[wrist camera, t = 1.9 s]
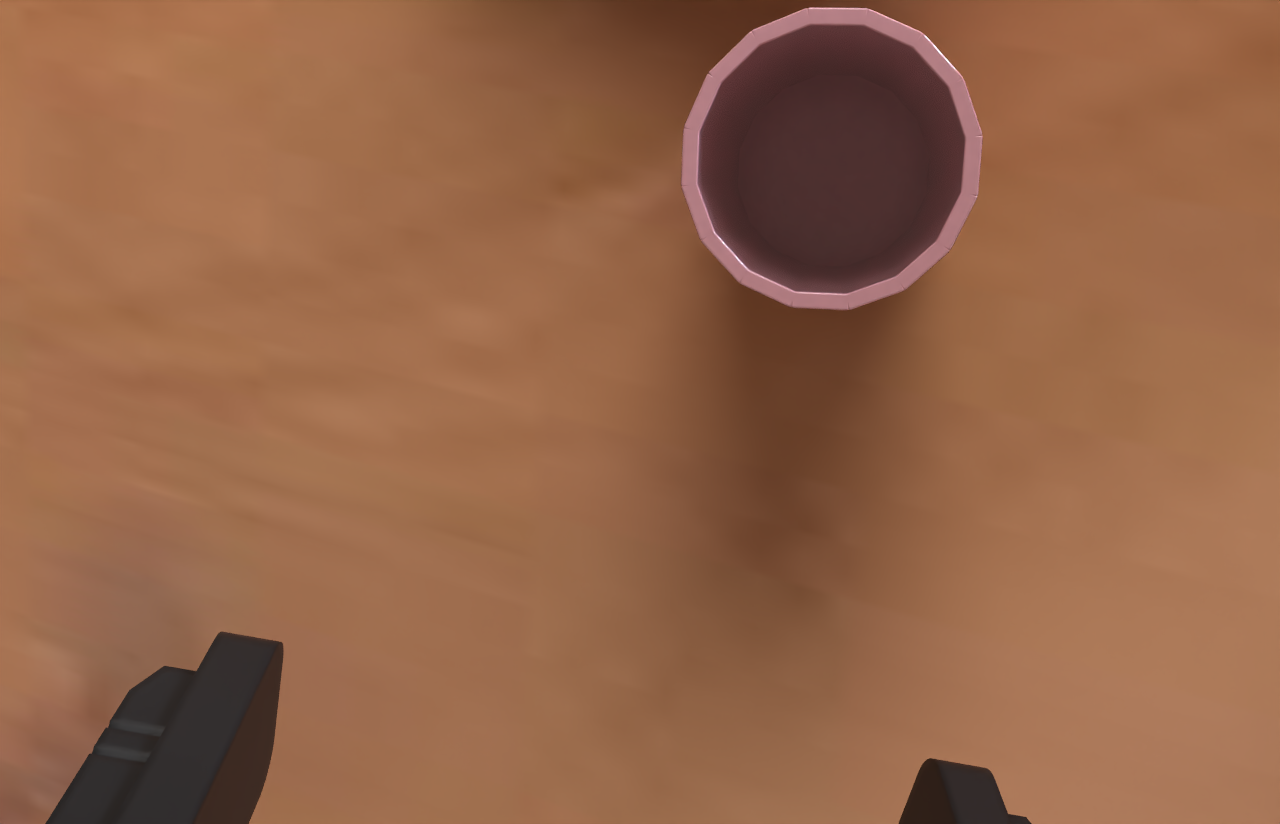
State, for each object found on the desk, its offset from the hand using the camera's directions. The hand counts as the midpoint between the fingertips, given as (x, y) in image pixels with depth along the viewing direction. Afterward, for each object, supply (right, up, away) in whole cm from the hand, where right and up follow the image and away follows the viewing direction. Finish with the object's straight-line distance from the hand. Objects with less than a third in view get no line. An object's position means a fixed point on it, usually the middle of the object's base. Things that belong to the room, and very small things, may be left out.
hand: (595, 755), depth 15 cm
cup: (+6, +11, +21) cm, 24 cm away
